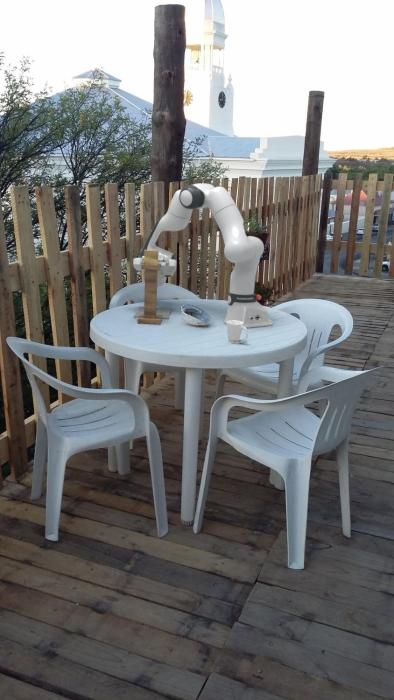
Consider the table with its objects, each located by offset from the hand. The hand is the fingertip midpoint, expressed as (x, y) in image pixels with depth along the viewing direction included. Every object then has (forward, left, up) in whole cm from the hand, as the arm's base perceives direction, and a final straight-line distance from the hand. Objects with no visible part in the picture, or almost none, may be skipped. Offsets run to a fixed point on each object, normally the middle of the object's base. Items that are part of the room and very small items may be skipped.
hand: (153, 258), depth 261 cm
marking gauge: (+2, +6, -1) cm, 6 cm away
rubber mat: (-2, -6, -27) cm, 28 cm away
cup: (-22, +49, -27) cm, 61 cm away
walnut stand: (+4, +10, -27) cm, 29 cm away
